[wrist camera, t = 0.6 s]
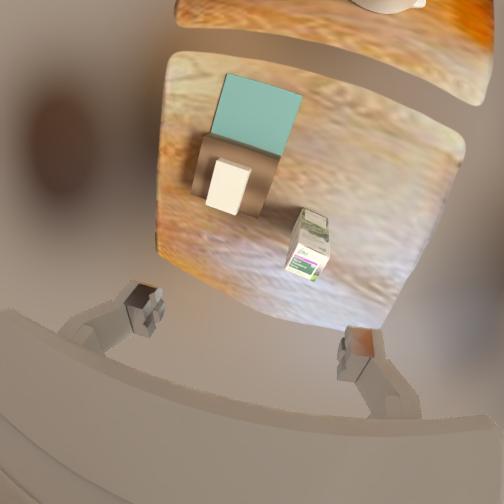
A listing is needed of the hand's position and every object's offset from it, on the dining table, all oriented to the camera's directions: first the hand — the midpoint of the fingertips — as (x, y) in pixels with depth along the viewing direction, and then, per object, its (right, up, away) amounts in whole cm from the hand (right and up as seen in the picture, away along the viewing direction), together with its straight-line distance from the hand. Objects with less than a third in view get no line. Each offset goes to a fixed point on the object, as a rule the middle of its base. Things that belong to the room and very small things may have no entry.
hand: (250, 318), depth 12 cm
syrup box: (+12, +9, +45) cm, 47 cm away
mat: (+1, +28, +35) cm, 45 cm away
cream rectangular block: (-4, +15, +40) cm, 43 cm away
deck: (-3, +18, +42) cm, 46 cm away
